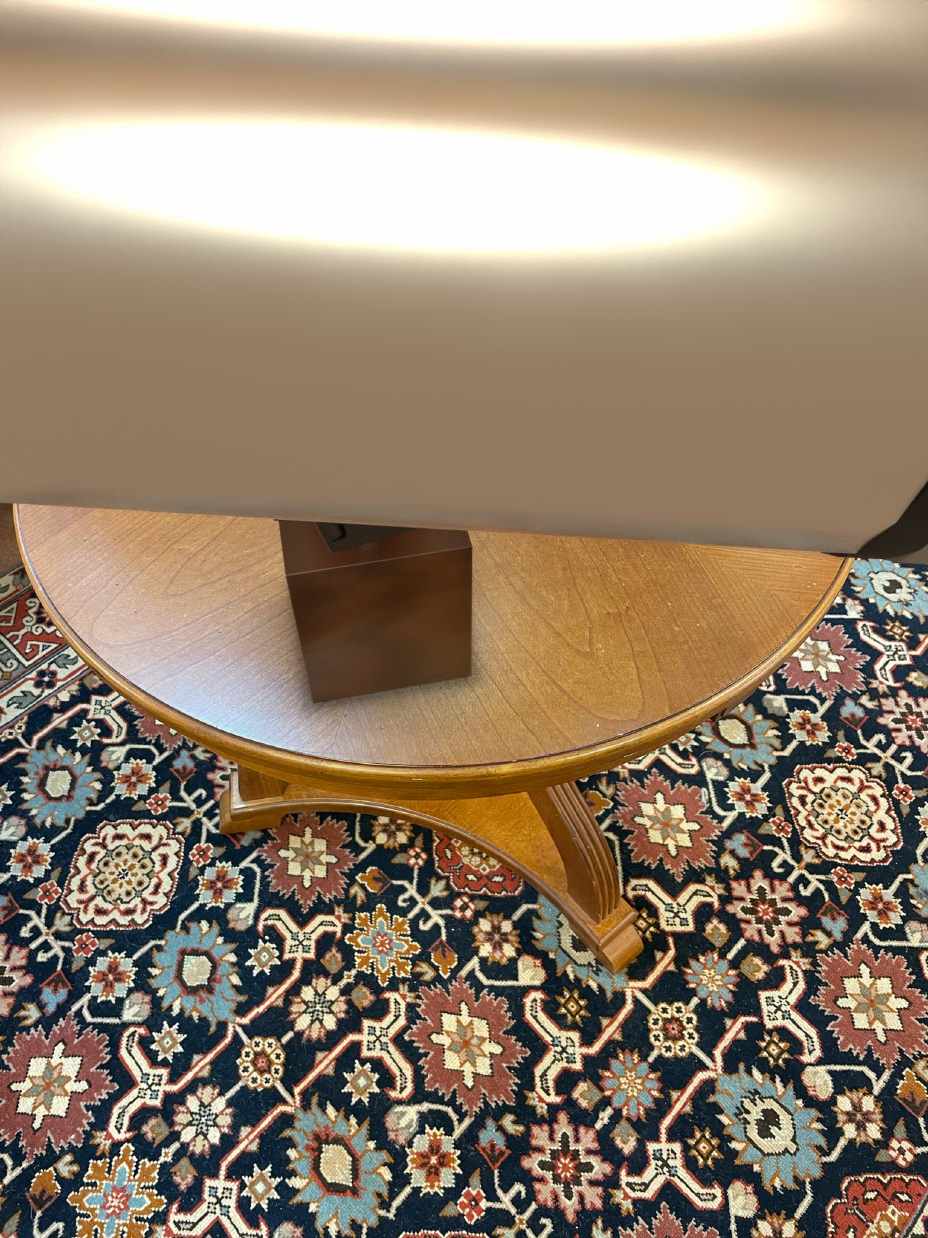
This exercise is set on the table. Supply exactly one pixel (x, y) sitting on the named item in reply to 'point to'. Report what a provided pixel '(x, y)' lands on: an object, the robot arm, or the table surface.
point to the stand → (380, 609)
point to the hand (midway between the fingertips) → (361, 422)
